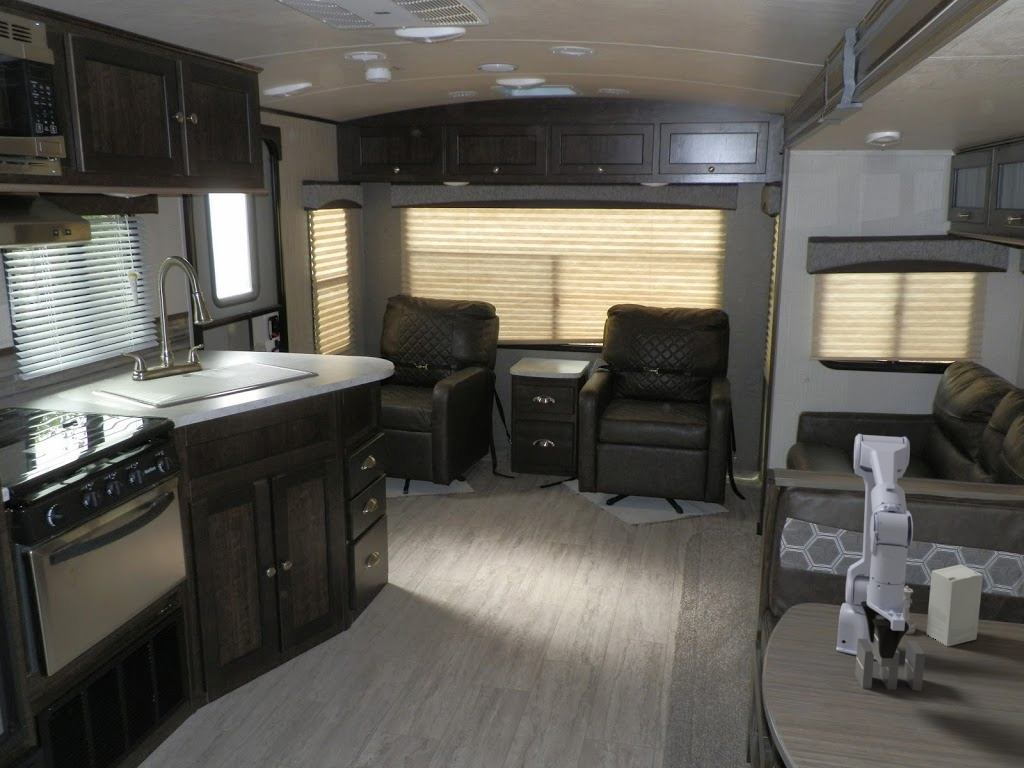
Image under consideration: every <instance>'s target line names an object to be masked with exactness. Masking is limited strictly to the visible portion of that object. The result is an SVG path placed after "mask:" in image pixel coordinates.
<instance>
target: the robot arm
mask: <svg viewBox="0 0 1024 768" xmlns="http://www.w3.org/2000/svg"><path fill="white" fill-rule="evenodd" d="M910 444H911V443H910V440H909V439H908V438H907V436H901V437H900V436H886V435H869V434H862V433H858V434H857V435H856V436H855V437H854V445H853V470H854V474H855V475H857V476H859V477H861V478H862V479H863V482H864V487H865V488H864V489H865V491H864V492H865V494H864V495H865V496H864V497H865V498H864V515H863V516H864V517H863V518H864V520H863V536H862V537H863V540H862V541H863V542H862V558H861V559H859V560H857V561H856V562H854V563H852V564H851V565H849V566H848V568H847V573H846V574H847V575H846V580H845V602H843V603H842V604H841V607H840V611H839V615H838V617H839V618H838V627H837V628H838V630H837V639H836V640H837V643H836V647H835V648H836V649H835V650H836V651H837V652H840V653H845V654H850V655H854V656H857V642H858V639H867V641H868V642H869V644H870V645H871V647H872V649H873V639H874V628H875V627H876V630H877V635H878V645H879V654H880V657H881V658H893V657H894V655H895V652H896V650H898V647H899V645H900V642H901V641H902V638H903V637H904V636H905V635H906V634H905V633H906V632H907V631H908V630H909V625H908V624H907V622H905V620H904V618H903V613H904V608H909V609H910V607H911V604H909V602H908V601H907V600H903V598H904V588H905V586H906V585H905V584H906V583H905V582H906V572H907V561H908V550H909V549H908V548H911V546H912V543H913V539H914V538H913V537H914V521H913V518H912V517H913V516H912V514H911V511H910V510H907V509H908V508H907V503H906V494H905V493H906V492H905V490H904V489H903V487H901V485H898V479H900V478H903V475H904V474H905V473H906V470H907V468H908V466H909V462H910V455H911V454H910V453H911V452H910V451H911V445H910ZM866 575H869V576H866ZM876 614H877V615H882V616H884V617H885V620H884V619H875V617H876ZM874 661H877V660H876V658H875V656H874Z"/></svg>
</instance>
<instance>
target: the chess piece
mask: <svg viewBox="0 0 1024 768" xmlns="http://www.w3.org/2000/svg"><path fill="white" fill-rule="evenodd" d="M913 593H914V590H913V589H912V588H910V587H909V585H905V587H904V598H903V600H907V601H908V602H909V604H910V605H911V604H912V603H913V599H911V595H912V594H913ZM910 614H911V613H910V608H904V613H903V618H904V620H905V622H907V624H908V625H909V630H908V631H907V632H906V633H905V634H904V635H907V634H908V635H913V634H914V633H915V632H916V624H915V622H914V621H913V617H912V616H911V615H910Z"/></svg>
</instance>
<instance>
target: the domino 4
mask: <svg viewBox="0 0 1024 768" xmlns="http://www.w3.org/2000/svg"><path fill="white" fill-rule="evenodd" d="M905 647H906V648H905V658H904V670H903V678H904V679H906V680H905V681H906V683H907V685H908V686H909V688H910V689H911V691H912V690H914V691H913V692H916V691H917V692H922V691H923V679H924V670H925V669H924V668H925V658H926V657H925V656H926V653H925V652H924V650H923V649H922V648H921V646H920V645H919V643H918V642H917V641H916V640H906V645H905ZM915 690H916V691H915Z"/></svg>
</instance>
